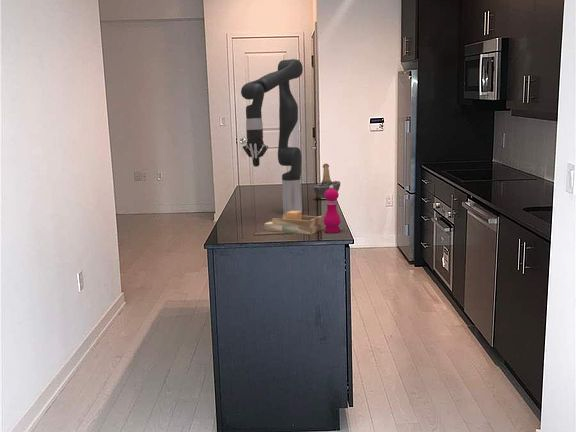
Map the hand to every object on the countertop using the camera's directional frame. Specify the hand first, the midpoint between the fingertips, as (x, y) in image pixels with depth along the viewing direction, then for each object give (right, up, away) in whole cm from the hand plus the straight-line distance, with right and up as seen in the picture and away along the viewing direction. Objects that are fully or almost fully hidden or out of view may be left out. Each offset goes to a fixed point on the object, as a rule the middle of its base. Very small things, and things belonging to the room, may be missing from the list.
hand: (256, 166), depth 282 cm
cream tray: (+17, -29, -12) cm, 35 cm away
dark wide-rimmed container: (+37, -13, +67) cm, 78 cm away
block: (+17, -26, -13) cm, 34 cm away
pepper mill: (+34, -30, -17) cm, 48 cm away
